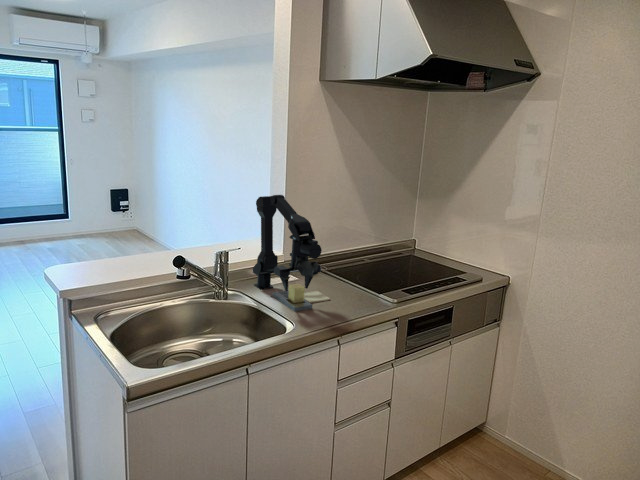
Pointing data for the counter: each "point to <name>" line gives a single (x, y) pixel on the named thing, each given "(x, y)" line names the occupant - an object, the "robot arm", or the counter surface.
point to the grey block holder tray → (283, 298)
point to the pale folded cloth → (315, 297)
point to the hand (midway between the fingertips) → (296, 289)
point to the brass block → (296, 294)
